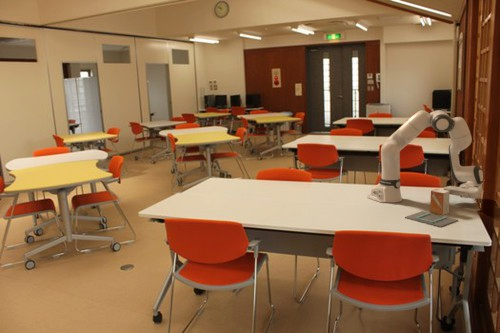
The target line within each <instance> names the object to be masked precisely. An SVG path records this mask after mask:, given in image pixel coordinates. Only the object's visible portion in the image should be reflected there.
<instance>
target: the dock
mask: <svg viewBox="0 0 500 333" xmlns="http://www.w3.org/2000/svg"><path fill="white" fill-rule="evenodd" d="M404 219H407V220H410V221H414V222H418V223H422V224H426V225H429V226H434V227H436V226H437V227H436V228H440V227H441V228H444V227H446V226H449V225H451V224H454V223H456V222H459V219H455V218H452V217H449V216H444V215H441V214H437V213H432V212H428V211H423V210H421V211H419V212H415V213H412V214H410V215H407V216H405V217H404Z"/></svg>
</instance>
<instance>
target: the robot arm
mask: <svg viewBox="0 0 500 333" xmlns="http://www.w3.org/2000/svg"><path fill="white" fill-rule="evenodd" d="M429 127H432V128H433V130H435V131H436V132H438V133H439V132H440V133H443V132H446V133H447V132H448V133H449V134H448V135H449V137H450V144H449V146H448V156H449V157H448V158H449V164H450V176H451V179H452V180H453V181H454V182H455V183H456V184H457V183H462V184H460V185H459V186H455V185H449V186H448V185H447V186H445V187H443V190H446V191H450V193H449V195H450V196H451V195H453V196H456V197H460V198H464V199H473V200H474V199H481V197H482V193H483V192H482V184H483V172H484V170H483V169H482V168H481V166H479V165H469V166H468V165H467V166H466V165H465V166H464V165H463V166H462V165H461V164H460V157H459V153H460V152H462V151H464V150H465V149H467V148H468V147H469V146H470V145H471V144H472V141H473V138H472V134H471V131H470V128H469V126H468V124H467V122H466V120H465V119H464V118H463V117H461V116H456V117H450V115H449V114H448V113H447V112H446V111H445V110H443V109H435V110H432V111H429V112H428V111H426V110H424V109H423V110H418V111H417V112H416V113H414V114H412V115H411V116H410V117H409V118H408V119H407V120H405V121H404V123H403V124H402V125H401V126H399V127H398V129H397V130H396V131H394V132H393V133H392V134H391V135H390V136H388V137H387V139H386V140H384V142H383V143H382V144H381V148H380V158H381V159H380V161H381V177H380V178H378V180H377V181H378V184H376V185H374V186H373V187H371V191H370V194H368V195H367V196H366V198H367V199H370V200H373V201H375V202H378V203H399V202H402V201H403V198H402V197H403V196H402V193H401V177H400V176H401V162H400V161H401V159H400V158H401V157H400V156H401V153H400V152H401V151H402V150H403V149H404V148H405V147H406V146H408V145H409V144H410V143H411V142H412V141H414V140H416V138H417V137H418V136H419V135H420V134H421V133H422V132H423V131H424V130H425V129H426V128H429Z"/></svg>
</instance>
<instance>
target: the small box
mask: <svg viewBox="0 0 500 333" xmlns="http://www.w3.org/2000/svg"><path fill="white" fill-rule="evenodd" d="M449 193H450V191H446V190H444V189H440V188H434V189H432V190H430V202H429V203H430V205H429V206H430V207H429V213H432V214H436V215H440V216H444V215H447V214H449V213H450V194H449Z"/></svg>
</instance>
